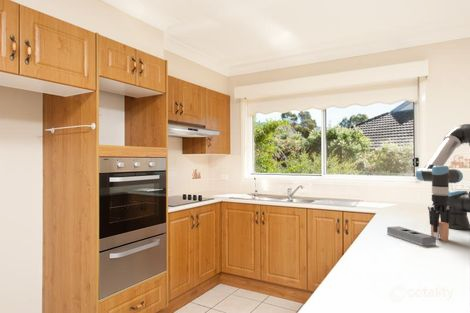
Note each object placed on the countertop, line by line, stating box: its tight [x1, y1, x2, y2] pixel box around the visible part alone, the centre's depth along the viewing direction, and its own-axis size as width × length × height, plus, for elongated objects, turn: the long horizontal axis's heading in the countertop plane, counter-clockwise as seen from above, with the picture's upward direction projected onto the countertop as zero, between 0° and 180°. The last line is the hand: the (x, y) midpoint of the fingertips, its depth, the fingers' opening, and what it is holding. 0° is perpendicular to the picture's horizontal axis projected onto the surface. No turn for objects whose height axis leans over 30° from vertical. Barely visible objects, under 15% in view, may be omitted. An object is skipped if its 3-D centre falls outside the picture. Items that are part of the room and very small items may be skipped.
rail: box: [387, 226, 437, 247], centre depth 163 cm, size 8×24×4 cm, turn 13°
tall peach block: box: [430, 220, 450, 242], centre depth 165 cm, size 3×8×9 cm, turn 13°
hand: (439, 238), depth 164 cm, fingers open, 3 cm apart
